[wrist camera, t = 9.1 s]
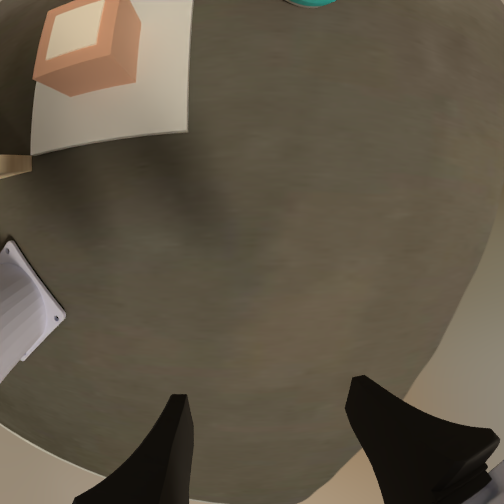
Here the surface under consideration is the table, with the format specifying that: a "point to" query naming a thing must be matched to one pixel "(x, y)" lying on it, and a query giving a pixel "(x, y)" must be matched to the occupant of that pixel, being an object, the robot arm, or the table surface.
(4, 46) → the table surface
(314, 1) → the beverage can
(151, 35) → the tile
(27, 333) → the robot arm
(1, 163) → the wooden board
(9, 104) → the table surface
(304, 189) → the table surface
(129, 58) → the letter block
